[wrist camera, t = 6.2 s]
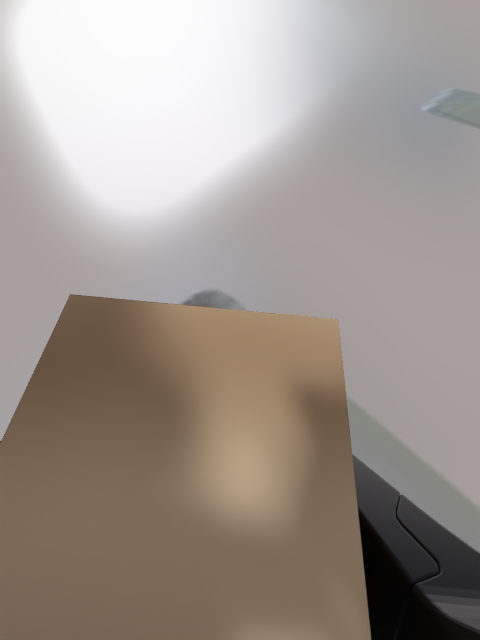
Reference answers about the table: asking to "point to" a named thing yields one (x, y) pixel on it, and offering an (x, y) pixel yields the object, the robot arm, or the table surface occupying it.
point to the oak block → (181, 480)
